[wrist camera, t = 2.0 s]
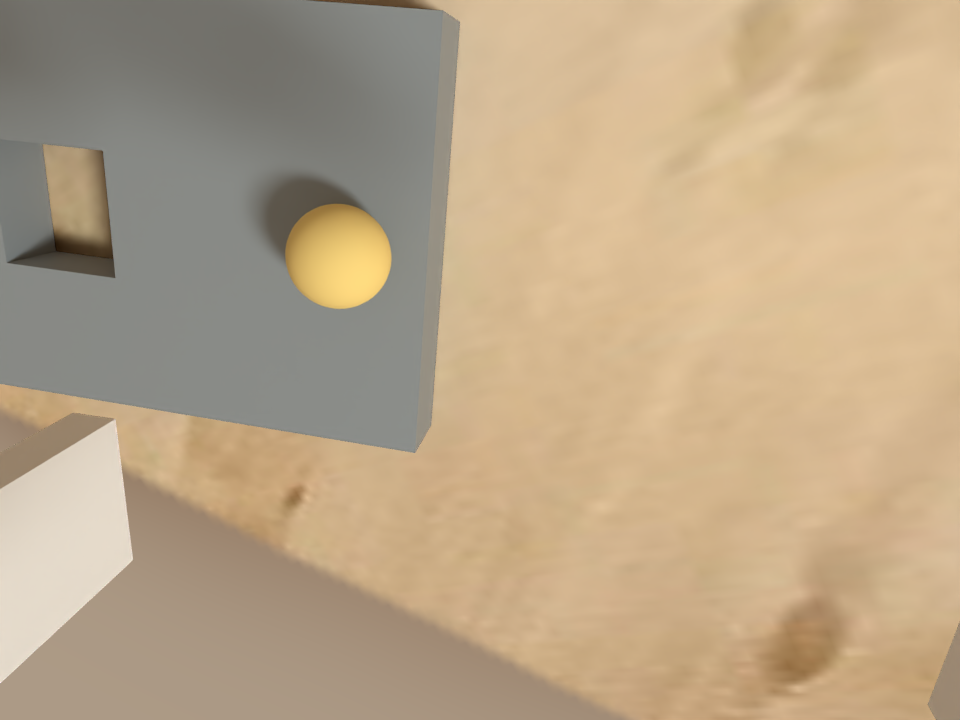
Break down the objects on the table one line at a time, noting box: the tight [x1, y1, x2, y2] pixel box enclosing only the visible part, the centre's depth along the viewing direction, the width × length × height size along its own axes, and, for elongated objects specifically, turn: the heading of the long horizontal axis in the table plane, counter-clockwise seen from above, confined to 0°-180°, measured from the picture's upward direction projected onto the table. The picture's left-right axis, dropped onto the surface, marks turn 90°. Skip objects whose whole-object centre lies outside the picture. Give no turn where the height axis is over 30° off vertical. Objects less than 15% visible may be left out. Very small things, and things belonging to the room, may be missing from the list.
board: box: [0, 0, 460, 453], centre depth 30 cm, size 18×22×3 cm
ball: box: [285, 204, 391, 309], centre depth 26 cm, size 4×4×4 cm
